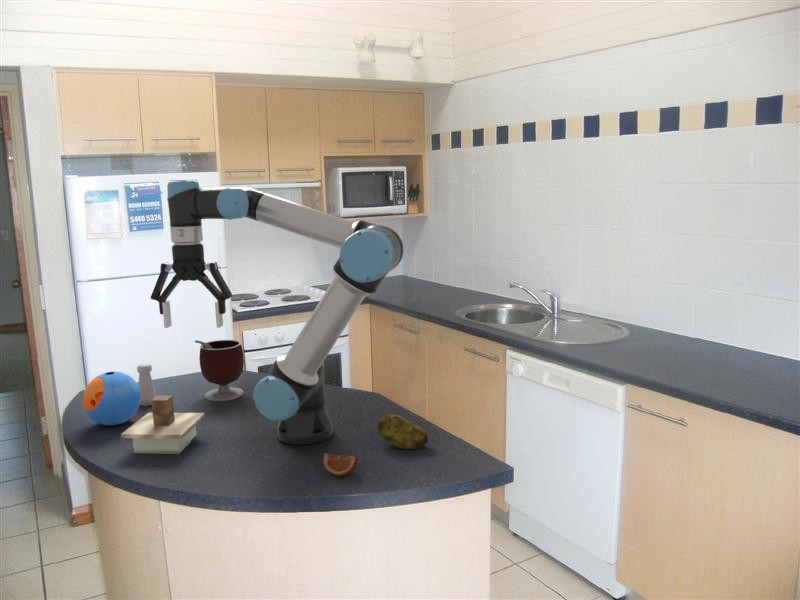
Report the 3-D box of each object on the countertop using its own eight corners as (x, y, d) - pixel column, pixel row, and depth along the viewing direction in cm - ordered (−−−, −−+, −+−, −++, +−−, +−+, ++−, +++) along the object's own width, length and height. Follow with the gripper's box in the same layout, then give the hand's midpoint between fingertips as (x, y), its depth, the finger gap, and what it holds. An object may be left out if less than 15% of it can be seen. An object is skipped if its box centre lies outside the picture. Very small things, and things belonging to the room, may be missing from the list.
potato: (413, 456, 167) (412, 426, 165) (372, 445, 174) (372, 416, 173) (431, 445, 173) (431, 416, 172) (391, 435, 181) (391, 407, 179)
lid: (204, 416, 184) (202, 388, 183) (182, 438, 168) (179, 408, 167) (148, 416, 185) (146, 388, 184) (121, 438, 169) (118, 408, 168)
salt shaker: (161, 403, 211) (157, 363, 209) (146, 408, 207) (142, 368, 204) (149, 400, 215) (146, 361, 212) (134, 405, 210) (130, 365, 208)
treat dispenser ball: (153, 421, 195) (148, 371, 192) (101, 437, 183) (96, 384, 181) (126, 410, 205) (122, 362, 202) (76, 425, 193) (70, 374, 191)
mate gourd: (232, 385, 228) (229, 329, 224) (253, 394, 218) (250, 335, 214) (190, 396, 218) (185, 336, 214) (210, 406, 208) (205, 344, 204)
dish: (196, 436, 183) (195, 418, 182) (178, 453, 171) (177, 435, 170) (154, 435, 184) (152, 418, 183) (134, 453, 172) (132, 435, 171)
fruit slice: (319, 477, 156) (318, 457, 155) (331, 465, 163) (330, 446, 162) (351, 482, 153) (350, 461, 153) (363, 470, 160) (362, 450, 159)
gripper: (131, 245, 163) (139, 330, 166) (231, 244, 161) (237, 329, 164) (145, 242, 170) (153, 323, 174) (241, 241, 168) (246, 323, 172)
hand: (193, 326), depth 169 cm, fingers open, 13 cm apart
